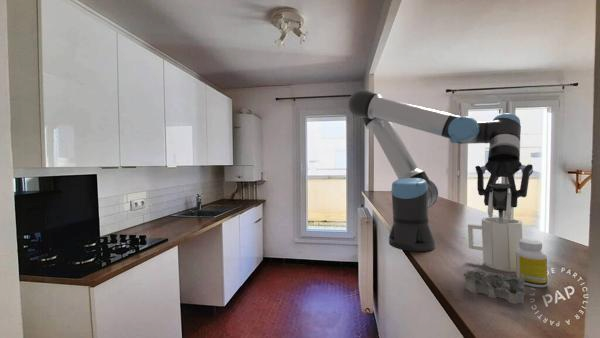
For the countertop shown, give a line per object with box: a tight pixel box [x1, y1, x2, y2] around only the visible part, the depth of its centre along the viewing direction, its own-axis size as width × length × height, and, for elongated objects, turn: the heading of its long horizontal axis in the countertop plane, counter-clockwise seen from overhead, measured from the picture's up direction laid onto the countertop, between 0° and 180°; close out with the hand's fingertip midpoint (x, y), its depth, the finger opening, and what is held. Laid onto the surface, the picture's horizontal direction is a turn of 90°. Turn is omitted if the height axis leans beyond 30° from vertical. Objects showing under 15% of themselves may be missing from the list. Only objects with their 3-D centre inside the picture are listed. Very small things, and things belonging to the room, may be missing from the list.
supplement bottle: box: [515, 238, 548, 288], centre depth 59 cm, size 5×5×10 cm
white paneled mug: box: [467, 216, 524, 273], centre depth 71 cm, size 12×8×12 cm
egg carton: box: [463, 268, 525, 305], centre depth 57 cm, size 11×8×4 cm
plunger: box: [489, 182, 511, 223], centre depth 69 cm, size 6×6×20 cm
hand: (499, 215), depth 66 cm, fingers closed on plunger, 3 cm apart
